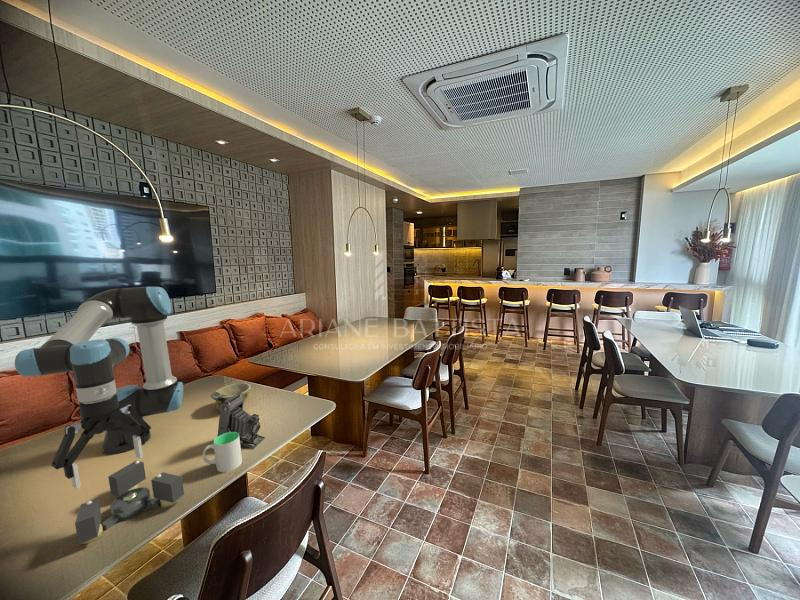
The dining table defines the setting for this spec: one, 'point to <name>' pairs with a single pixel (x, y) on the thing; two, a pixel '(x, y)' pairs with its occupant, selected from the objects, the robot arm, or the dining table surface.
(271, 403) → the dining table surface
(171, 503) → the knob
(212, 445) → the mug
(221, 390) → the bowl
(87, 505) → the knob
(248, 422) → the camera
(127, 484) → the grey block with dot
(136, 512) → the level base
